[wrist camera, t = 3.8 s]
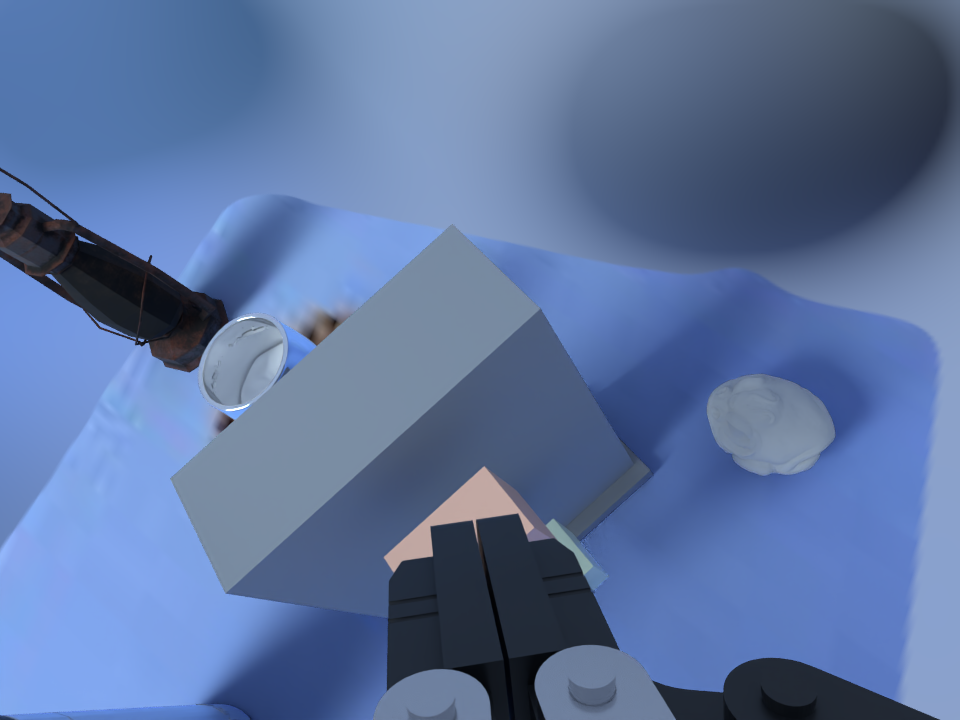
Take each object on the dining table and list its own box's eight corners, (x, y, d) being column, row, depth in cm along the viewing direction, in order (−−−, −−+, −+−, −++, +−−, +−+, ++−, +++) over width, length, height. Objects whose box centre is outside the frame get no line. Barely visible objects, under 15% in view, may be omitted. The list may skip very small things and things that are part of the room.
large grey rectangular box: (653, 474, 46) (567, 315, 26) (463, 647, 46) (225, 624, 26) (575, 395, 51) (447, 203, 30) (400, 553, 51) (153, 469, 30)
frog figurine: (724, 387, 47) (719, 345, 41) (839, 411, 44) (851, 369, 38) (701, 472, 45) (692, 441, 39) (819, 503, 42) (828, 475, 36)
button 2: (614, 582, 36) (599, 572, 33) (542, 648, 36) (519, 645, 33) (572, 532, 38) (553, 518, 34) (503, 594, 38) (477, 586, 34)
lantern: (206, 281, 69) (-125, 47, 43) (243, 326, 65) (-97, 96, 39) (147, 340, 68) (-221, 139, 43) (182, 389, 64) (-203, 198, 39)
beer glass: (349, 380, 58) (233, 296, 45) (415, 408, 55) (310, 327, 42) (308, 456, 57) (175, 391, 44) (373, 489, 53) (250, 430, 40)
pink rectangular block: (568, 553, 27) (541, 536, 24) (474, 639, 27) (433, 634, 24) (516, 490, 29) (484, 466, 26) (427, 570, 29) (383, 557, 26)
